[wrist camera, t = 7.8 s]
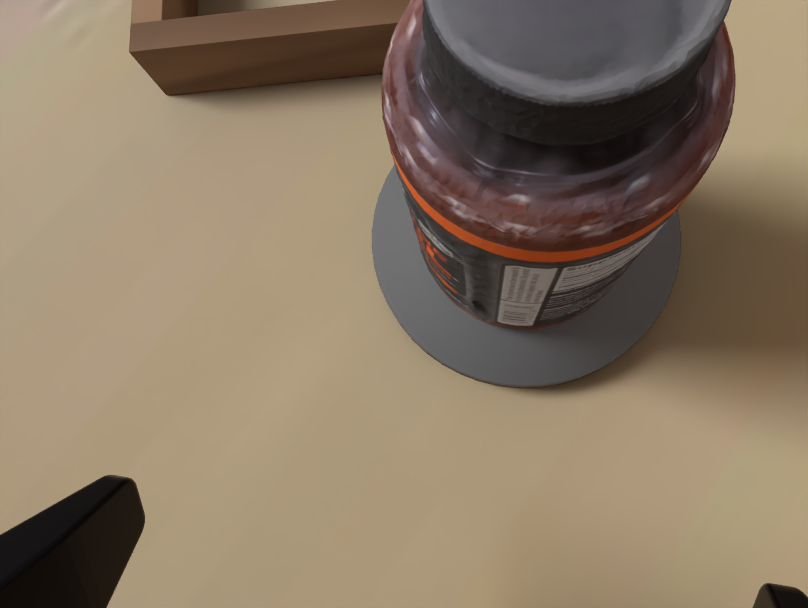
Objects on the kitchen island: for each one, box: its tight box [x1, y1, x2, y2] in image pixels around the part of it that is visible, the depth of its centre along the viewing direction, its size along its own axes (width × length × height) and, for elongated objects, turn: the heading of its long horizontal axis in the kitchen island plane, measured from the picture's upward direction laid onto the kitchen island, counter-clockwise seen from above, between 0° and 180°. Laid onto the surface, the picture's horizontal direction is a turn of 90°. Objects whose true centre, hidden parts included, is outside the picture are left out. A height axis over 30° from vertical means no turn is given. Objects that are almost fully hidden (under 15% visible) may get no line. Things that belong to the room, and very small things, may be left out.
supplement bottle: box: [382, 0, 735, 330], centre depth 14 cm, size 6×6×11 cm
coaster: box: [372, 164, 681, 388], centre depth 20 cm, size 9×9×1 cm
